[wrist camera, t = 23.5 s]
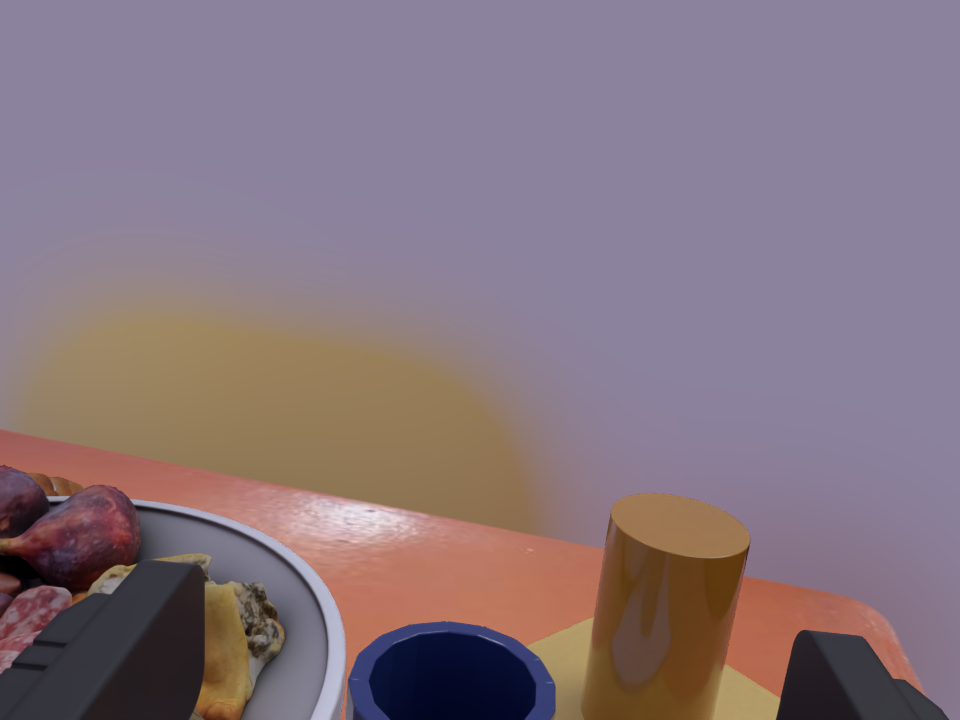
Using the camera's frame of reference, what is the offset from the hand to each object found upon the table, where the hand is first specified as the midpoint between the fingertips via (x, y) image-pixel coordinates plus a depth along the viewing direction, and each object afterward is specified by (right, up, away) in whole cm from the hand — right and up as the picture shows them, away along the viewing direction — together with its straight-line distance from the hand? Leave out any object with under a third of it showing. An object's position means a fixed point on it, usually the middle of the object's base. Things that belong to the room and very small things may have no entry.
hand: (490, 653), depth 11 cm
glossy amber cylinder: (+8, -13, +27) cm, 31 cm away
